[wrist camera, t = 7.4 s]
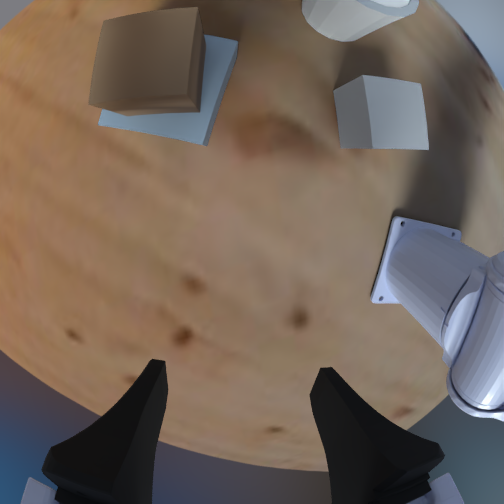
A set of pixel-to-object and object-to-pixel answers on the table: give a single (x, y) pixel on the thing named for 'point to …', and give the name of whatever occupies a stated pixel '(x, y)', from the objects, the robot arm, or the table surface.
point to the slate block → (188, 124)
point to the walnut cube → (150, 63)
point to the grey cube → (381, 114)
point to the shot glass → (354, 16)
